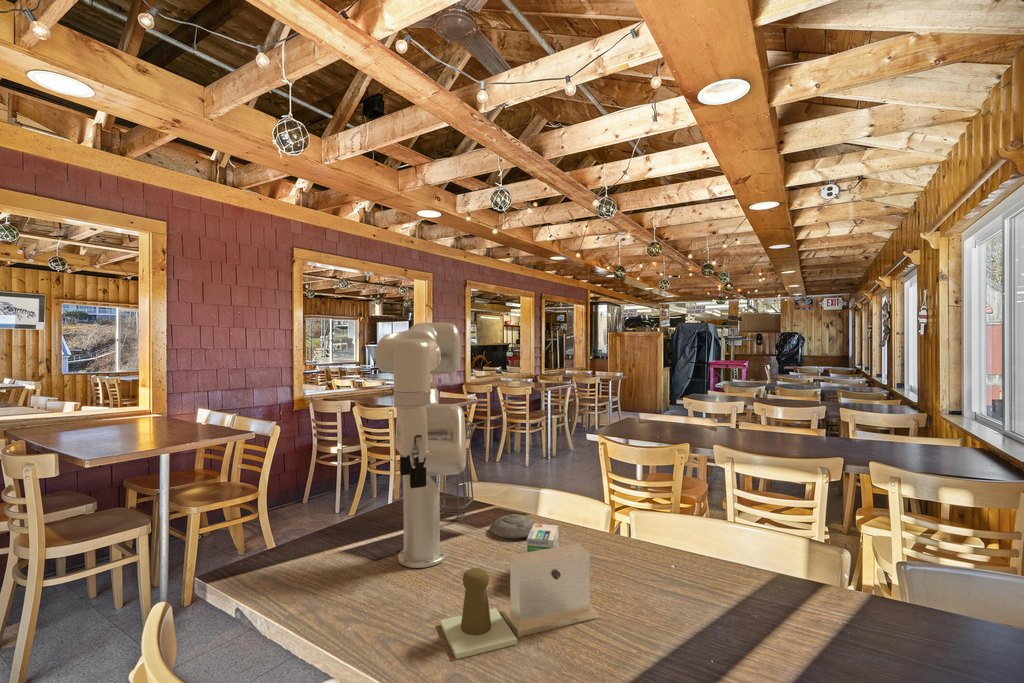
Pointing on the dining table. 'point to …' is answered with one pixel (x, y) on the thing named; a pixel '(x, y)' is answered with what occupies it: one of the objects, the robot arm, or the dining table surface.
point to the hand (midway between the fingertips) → (412, 480)
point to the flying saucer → (512, 526)
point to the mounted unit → (549, 589)
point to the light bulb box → (543, 537)
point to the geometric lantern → (457, 481)
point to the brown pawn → (475, 603)
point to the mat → (477, 636)
